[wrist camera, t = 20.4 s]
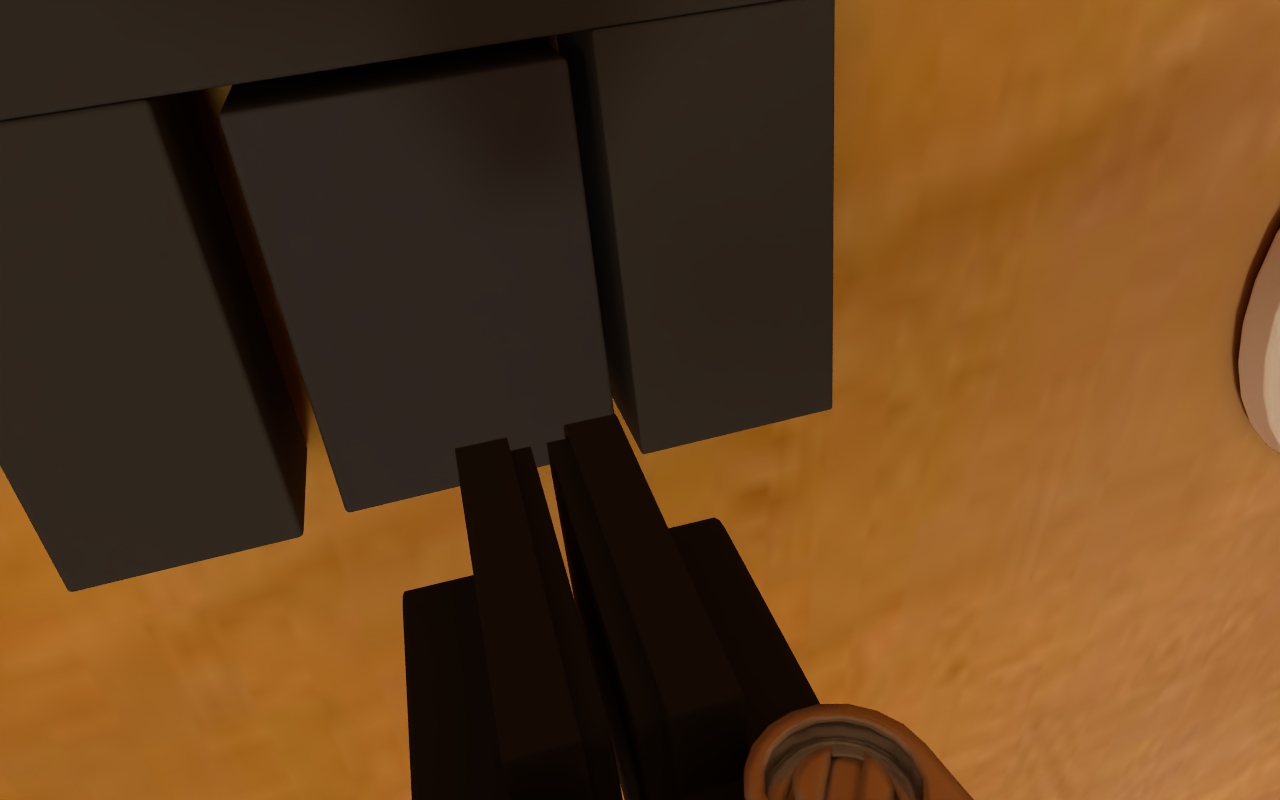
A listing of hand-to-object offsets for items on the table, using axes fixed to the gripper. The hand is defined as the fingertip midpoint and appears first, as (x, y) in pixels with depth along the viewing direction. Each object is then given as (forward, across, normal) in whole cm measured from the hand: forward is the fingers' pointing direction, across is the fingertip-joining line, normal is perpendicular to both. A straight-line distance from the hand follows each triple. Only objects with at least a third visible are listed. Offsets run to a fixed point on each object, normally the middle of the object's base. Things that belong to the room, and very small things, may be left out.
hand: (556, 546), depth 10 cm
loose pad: (+10, +1, 0) cm, 10 cm away
